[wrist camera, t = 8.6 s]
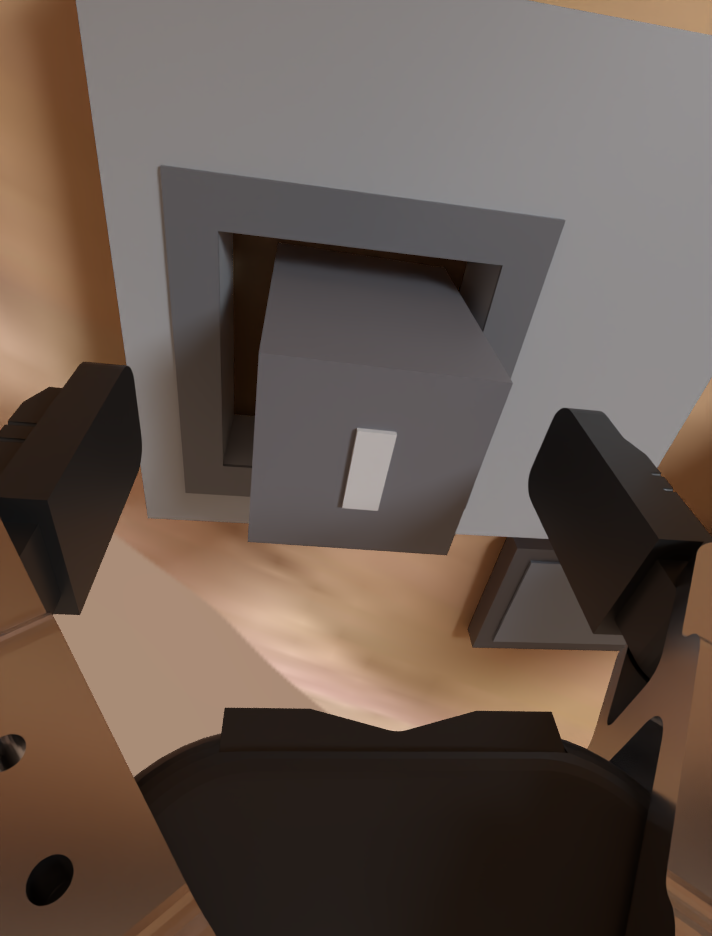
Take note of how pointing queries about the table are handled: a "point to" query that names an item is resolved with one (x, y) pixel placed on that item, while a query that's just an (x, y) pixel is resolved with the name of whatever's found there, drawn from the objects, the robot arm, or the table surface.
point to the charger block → (368, 404)
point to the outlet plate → (408, 206)
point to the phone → (533, 604)
